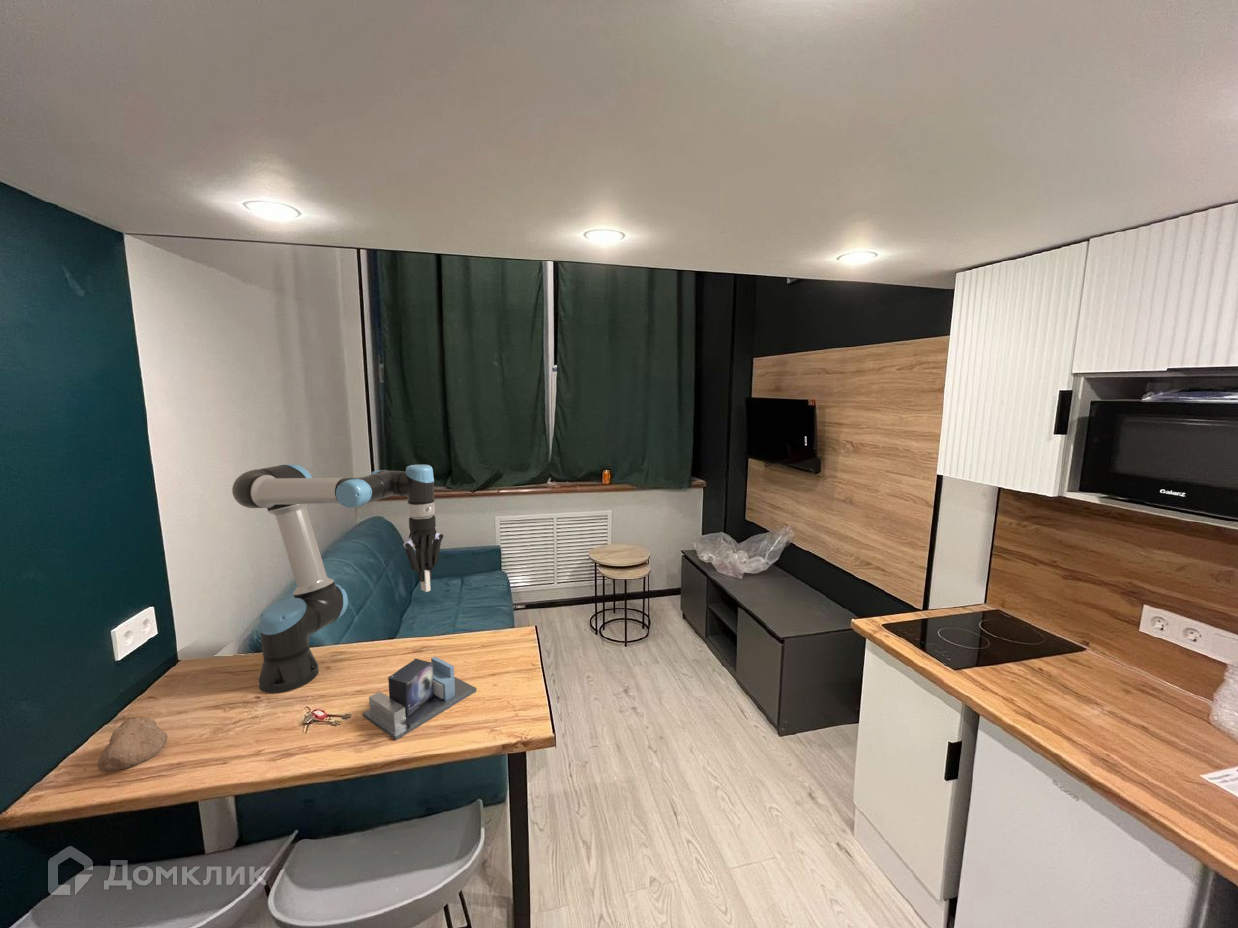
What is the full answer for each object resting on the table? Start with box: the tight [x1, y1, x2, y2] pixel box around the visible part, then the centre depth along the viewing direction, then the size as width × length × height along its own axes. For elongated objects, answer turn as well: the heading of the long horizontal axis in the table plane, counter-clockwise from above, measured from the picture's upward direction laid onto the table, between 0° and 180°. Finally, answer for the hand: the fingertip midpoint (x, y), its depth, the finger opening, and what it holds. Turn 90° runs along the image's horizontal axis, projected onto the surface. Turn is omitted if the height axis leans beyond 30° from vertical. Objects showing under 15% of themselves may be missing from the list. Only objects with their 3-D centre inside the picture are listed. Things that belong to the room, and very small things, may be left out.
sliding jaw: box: [430, 655, 455, 701], centre depth 141 cm, size 12×5×8 cm, turn 55°
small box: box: [387, 658, 434, 718], centre depth 135 cm, size 11×6×10 cm, turn 160°
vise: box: [362, 676, 477, 741], centre depth 137 cm, size 16×25×6 cm, turn 145°
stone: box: [96, 717, 168, 773], centre depth 117 cm, size 12×9×10 cm
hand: (425, 590), depth 151 cm, fingers closed
